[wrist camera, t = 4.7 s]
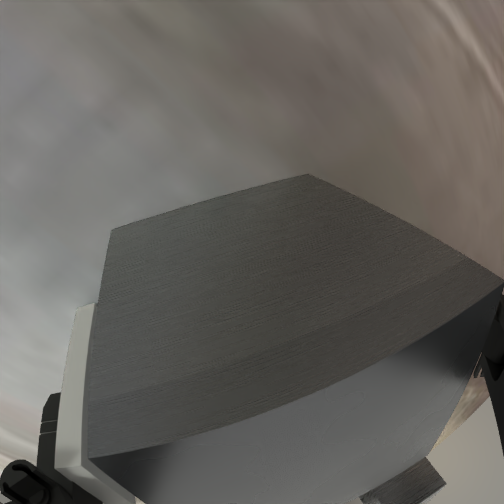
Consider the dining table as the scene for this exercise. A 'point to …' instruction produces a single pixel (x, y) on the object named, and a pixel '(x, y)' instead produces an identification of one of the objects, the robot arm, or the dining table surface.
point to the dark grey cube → (278, 347)
